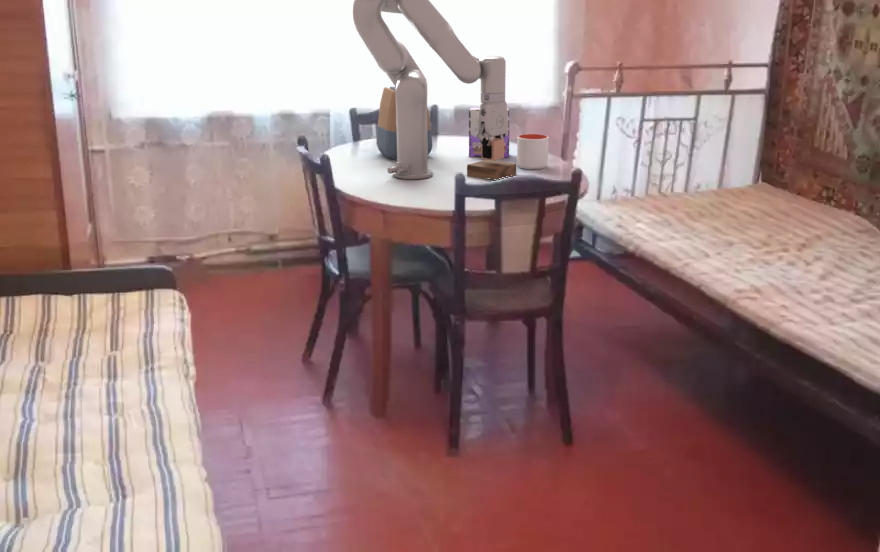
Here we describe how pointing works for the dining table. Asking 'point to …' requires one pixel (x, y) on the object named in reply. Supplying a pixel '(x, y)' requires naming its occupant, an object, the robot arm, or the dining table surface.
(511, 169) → the plinth
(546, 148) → the cup
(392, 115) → the tan two-tone rounded container
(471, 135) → the candy box
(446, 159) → the dining table surface
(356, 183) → the dining table surface
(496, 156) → the brick
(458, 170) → the dining table surface
